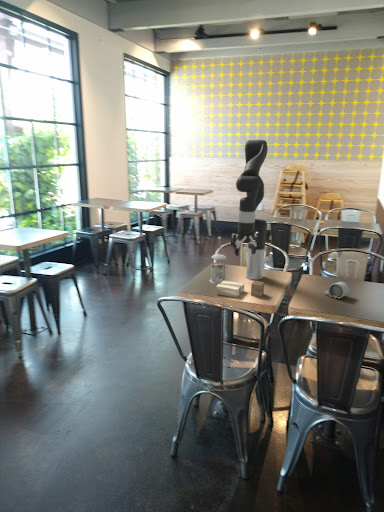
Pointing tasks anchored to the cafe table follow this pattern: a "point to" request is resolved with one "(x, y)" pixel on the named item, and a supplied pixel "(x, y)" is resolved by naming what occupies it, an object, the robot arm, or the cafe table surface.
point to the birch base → (230, 288)
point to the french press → (216, 273)
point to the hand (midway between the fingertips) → (244, 254)
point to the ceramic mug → (338, 289)
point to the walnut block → (257, 289)
